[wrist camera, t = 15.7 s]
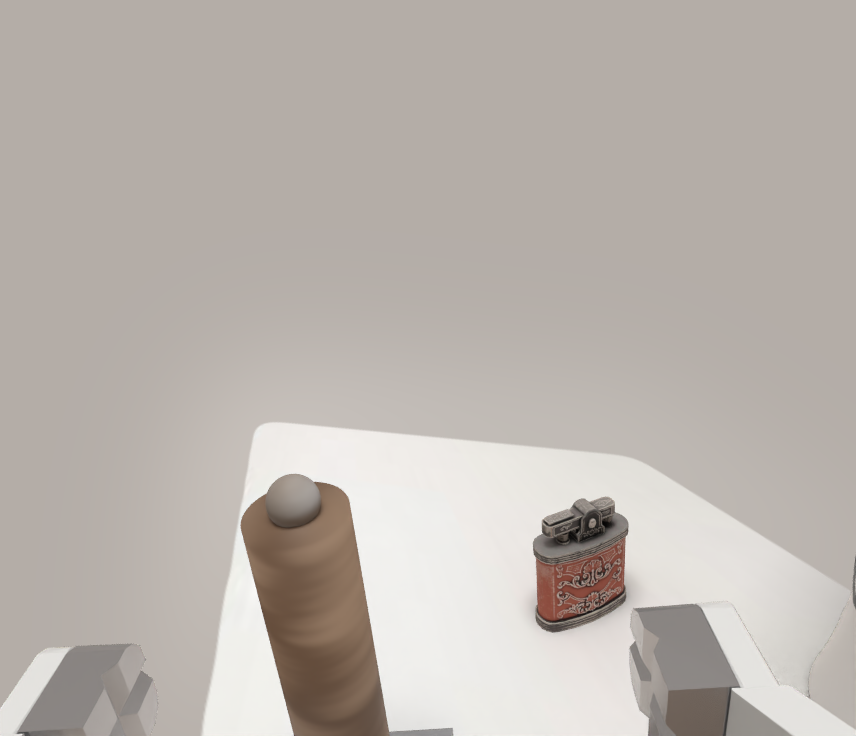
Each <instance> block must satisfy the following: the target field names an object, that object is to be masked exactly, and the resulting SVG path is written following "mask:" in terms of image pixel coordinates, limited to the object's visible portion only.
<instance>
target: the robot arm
mask: <svg viewBox="0 0 856 736" xmlns="http://www.w3.org/2000/svg"><path fill="white" fill-rule="evenodd" d="M630 627H631V630H632V633H633V636H634V639H635V642H634V643H633V644H632V645H631V647H630V652H629V664H630V672H631V680H632V685H633V689H634V693H635V697H636V700H637V703H638V707H639V710H640V711H641V712H642V713H644V714H645V715H646V716H647V717H648V718H649V731H648V736H856V558H855V565H854V576H853V591H852V593H851V595H850V598H849V600H848V602H847V605H846V607H845V608H844V609H843V612H842V614H841V617H840V619H839V622H838V624H837V626H836V628H835V630H834V632H833V633H832V635H831V637H830V639H829V640H828V642H827V643H826V645H825V646H824V648H823V649H822V651H821V652H820V653H819V655H818V656H817V657H816V659H815V661H814V662H813V664H812V667H811V670H810V674H809V695H810V698H808V697H807V696H805V695H804V694H802V693H801V692H799V691H798V690H796V689H795V688H793V687H792V686H790V685H779V683H778V682H777V680H776V678H775V677H774V675H773V673H772V671H771V670H770V668H769V666H768V665H767V663H766V661H765V659H764V658H763V656H762V654H761V653H760V651H759V649H758V647H757V646H756V644H755V642H754V640H753V639H752V637H751V635H750V634H749V632H748V630H747V628H746V627H745V625H744V623H743V622H742V620H741V618H740V616H739V615H738V613H737V611H736V609H735V608H734V606H733V605H732V604H731V603H729V602H728V601H721V602H709V603H696V604H695V605H694V604H684V605H672V606H659V607H647V608H634V609H633V610H632V613H631V623H630ZM145 661H146V659H145V656H144V654H143V652H142V649H141V647H140V645H136V644H116V645H115V644H114V645H91V646H76V647H57V648H46V649H45V650H43V651H42V652H40V653H39V654H38V655H37V656H36V657H35V659H34V660H33V661H32V663H31V664H30V666H29V667H28V669H27V670H26V672H25V673H24V675H23V676H22V677H21V679H20V680H19V682H18V683H17V685H16V686H15V688H14V689H13V691H12V692H11V693H10V695H9V696H8V698H7V699H6V701H5V702H4V704H3V705H2V707H1V708H0V736H150V735H151V733H152V730H153V728H154V726H155V722H156V716H157V709H158V696H157V689H156V686H155V683H154V681H153V679H152V678H151V677H149V676H148V675H147V674H145V673H144V672H142V671H141V669H142V667H143V665H144V663H145Z"/></svg>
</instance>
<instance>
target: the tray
mask: <svg viewBox="0 0 856 736" xmlns="http://www.w3.org/2000/svg"><path fill="white" fill-rule="evenodd" d="M389 735H390V736H453V728H445V729H429V730H412V731H396V732H389Z"/></svg>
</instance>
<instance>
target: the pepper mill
mask: <svg viewBox="0 0 856 736" xmlns="http://www.w3.org/2000/svg"><path fill="white" fill-rule="evenodd" d="M241 531H242V535H243V539H244V543H245V546H246V550H247V554H248V558H249V562H250V566H251V570H252V574H253V578H254V581H255V585H256V589H257V593H258V597H259V601H260V605H261V609H262V612H263V616H264V620H265V624H266V628H267V632H268V636H269V640H270V644H271V647H272V651H273V655H274V659H275V663H276V667H277V671H278V675H279V678H280V682H281V686H282V690H283V694H284V698H285V702H286V706H287V710H288V713H289V717H290V721H291V725H292V729H293V733H294V736H390V735H389V729H388V724H387V718H386V712H385V706H384V700H383V694H382V689H381V683H380V677H379V671H378V665H377V660H376V654H375V648H374V642H373V636H372V630H371V625H370V619H369V613H368V607H367V601H366V595H365V590H364V584H363V578H362V572H361V566H360V561H359V555H358V549H357V543H356V537H355V531H354V526H353V520H352V514H351V508H350V502H349V499H348V496H347V495H346V494H345V493H344V492H343V491H342V490H341V489H339V488H338V487H336V486H334V485H330V484H327V483H321V482H313V481H312V480H311V479H309V478H308V477H306V476H303V475H300V474H289V475H285V476H283V477H281V478H279V479H277V480H276V481H275V482H274V483H273V484H272V485H271V487H270V488H269V490H268V492H267V494H265V495H263V496H262V497H260V498H259V499H257V500H256V501H255V502H254V503H253V504H251V505H250V507H249V508H248V509H247V510H246V512H245V513H244V515H243V517H242V520H241Z"/></svg>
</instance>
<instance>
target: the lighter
mask: <svg viewBox="0 0 856 736" xmlns="http://www.w3.org/2000/svg"><path fill="white" fill-rule="evenodd" d="M542 533H543V534H541V535H540V536H538V537H537V538H535V539H534V542H533V551H534V555H535V557H536V571H537V600H538V604H537V606H536V621H537V623H538V625H539V626H540V627H541V628H542V629H544V630H546V631H549V632H560V631H564V630H568V629H572V628H576V627H579V626H581V625H584V624H587V623H590V622H593V621H595V620H597V619H599V618H601V617H603V616H605V615H606V614H608V613H610V612H612V611H613V610H615V609H616V608H617V607H619V606H620V605H622V604H623V603H624V602H625V599H626V588H625V585H624V566H625V537H626V536H627V534H628V521H627V519H626V518H625V517H624V516H622V515H620V514H618V513H615V502H614V500H612V499H611V498H610V497H602V498H599V499H596V500H593V501H591V502H588V501H587V500H586V499H579V500H577V501H576V502H575V503H574V504H573V506H572V507H571V509H569V510H568V509H566V510H564V511H561V512H558V513H555V514H552V515H550V516H547V517H545V518H544V519H543V520H542Z"/></svg>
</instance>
